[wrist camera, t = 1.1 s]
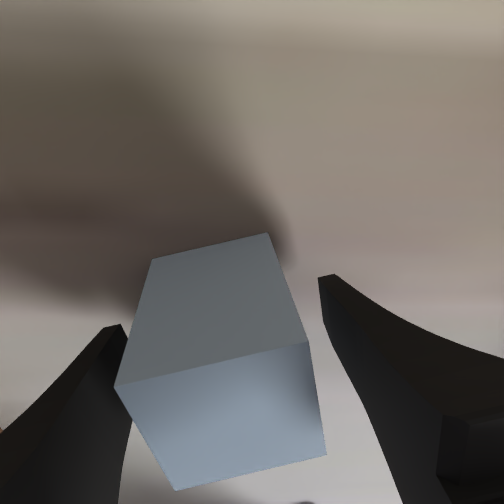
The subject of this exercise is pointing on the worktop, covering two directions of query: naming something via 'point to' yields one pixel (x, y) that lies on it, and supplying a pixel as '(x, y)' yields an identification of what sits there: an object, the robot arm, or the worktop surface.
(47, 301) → the worktop surface
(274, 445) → the slate block
